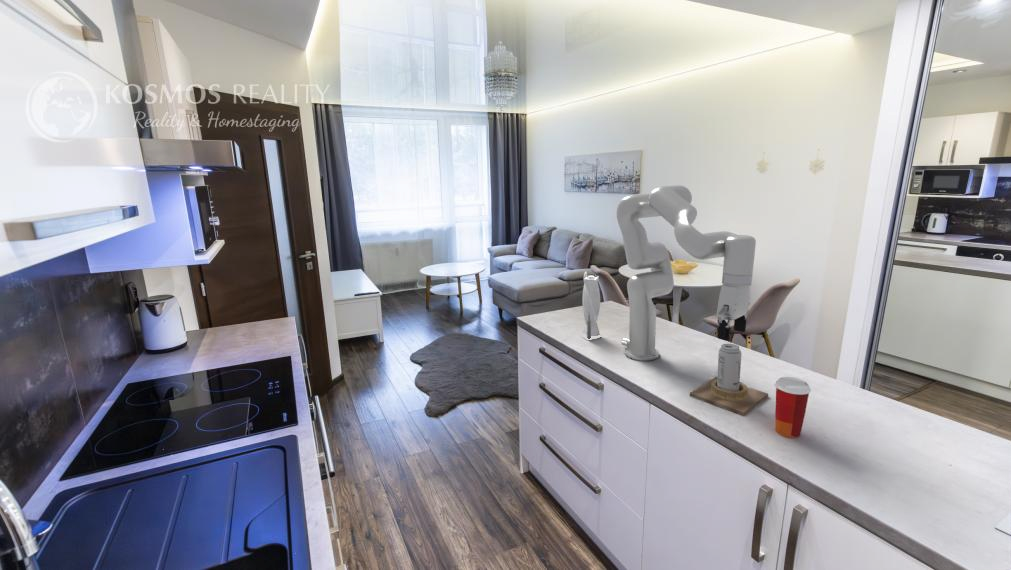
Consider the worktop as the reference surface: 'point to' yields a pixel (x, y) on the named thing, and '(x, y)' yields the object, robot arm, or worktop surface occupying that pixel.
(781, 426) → the paper cup
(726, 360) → the energy drink can
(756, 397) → the ring stand
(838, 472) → the worktop surface
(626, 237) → the robot arm
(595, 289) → the skyscraper
